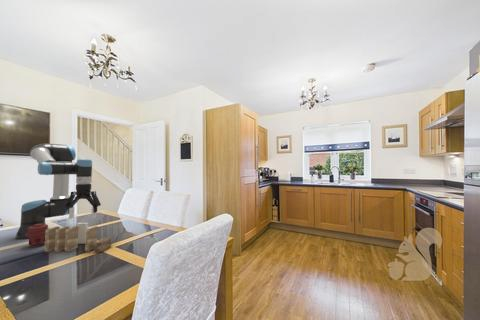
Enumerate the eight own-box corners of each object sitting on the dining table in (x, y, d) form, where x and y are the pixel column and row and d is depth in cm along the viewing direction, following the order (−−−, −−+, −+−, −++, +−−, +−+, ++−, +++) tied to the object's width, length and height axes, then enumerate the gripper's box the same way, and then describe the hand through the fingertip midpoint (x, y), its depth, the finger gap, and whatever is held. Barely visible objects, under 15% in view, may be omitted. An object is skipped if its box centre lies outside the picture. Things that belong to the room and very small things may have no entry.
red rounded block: (53, 242, 118) (32, 249, 108) (40, 241, 120) (19, 248, 110) (54, 222, 118) (34, 227, 108) (42, 221, 120) (21, 226, 110)
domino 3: (64, 251, 105) (65, 229, 105) (74, 247, 110) (75, 226, 111) (68, 251, 105) (69, 229, 105) (77, 247, 111) (78, 226, 111)
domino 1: (44, 252, 104) (45, 229, 105) (55, 247, 110) (55, 226, 111) (48, 252, 104) (49, 229, 105) (58, 247, 110) (59, 226, 111)
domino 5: (85, 251, 105) (86, 229, 105) (93, 247, 111) (94, 226, 111) (88, 251, 105) (89, 229, 105) (96, 247, 111) (97, 226, 111)
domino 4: (85, 243, 116) (85, 223, 117) (75, 243, 116) (75, 223, 117) (87, 242, 118) (88, 222, 119) (78, 242, 118) (78, 222, 119)
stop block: (93, 252, 104) (94, 242, 104) (104, 246, 112) (104, 237, 112) (101, 252, 104) (101, 242, 104) (111, 246, 112) (111, 237, 112)
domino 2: (54, 251, 104) (55, 229, 105) (64, 247, 110) (65, 226, 111) (58, 251, 104) (59, 229, 105) (68, 247, 110) (69, 226, 111)
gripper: (58, 184, 115) (56, 220, 114) (99, 183, 116) (98, 219, 114) (68, 183, 123) (67, 217, 121) (107, 183, 123) (107, 216, 122)
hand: (82, 218), depth 118 cm, fingers open, 13 cm apart
